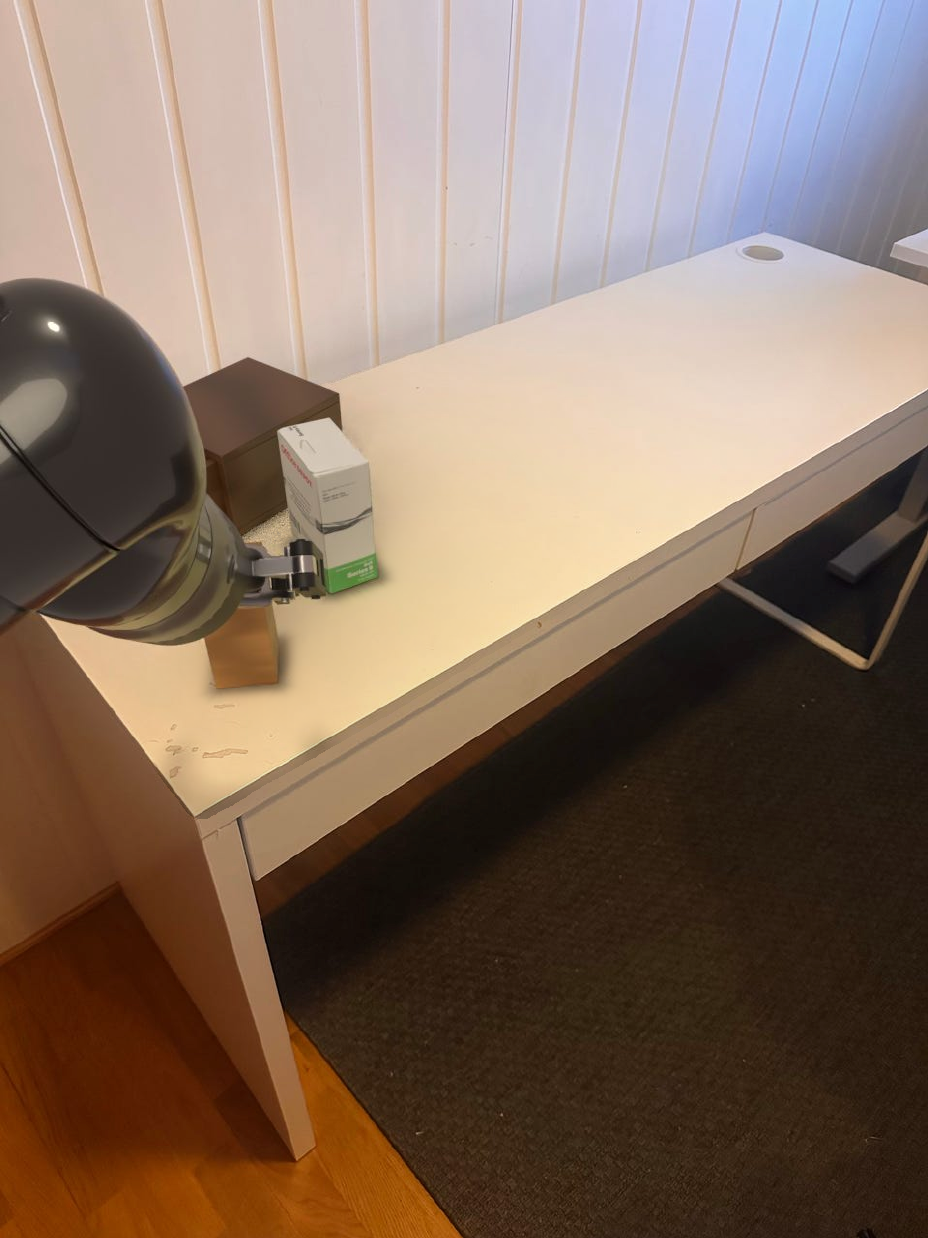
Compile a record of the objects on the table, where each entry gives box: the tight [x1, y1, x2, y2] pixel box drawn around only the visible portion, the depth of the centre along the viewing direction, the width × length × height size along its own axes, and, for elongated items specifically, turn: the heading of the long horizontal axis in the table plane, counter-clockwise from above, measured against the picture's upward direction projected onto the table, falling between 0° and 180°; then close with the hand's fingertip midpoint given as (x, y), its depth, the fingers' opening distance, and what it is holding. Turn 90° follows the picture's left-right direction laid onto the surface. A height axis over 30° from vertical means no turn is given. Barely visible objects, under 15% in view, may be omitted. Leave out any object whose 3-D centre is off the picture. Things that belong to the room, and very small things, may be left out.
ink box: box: [277, 418, 379, 594], centre depth 75 cm, size 9×5×12 cm, turn 30°
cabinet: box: [182, 356, 344, 536], centre depth 86 cm, size 15×13×9 cm
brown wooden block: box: [203, 541, 280, 690], centre depth 66 cm, size 5×5×10 cm
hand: (213, 592), depth 55 cm, fingers open, 8 cm apart
